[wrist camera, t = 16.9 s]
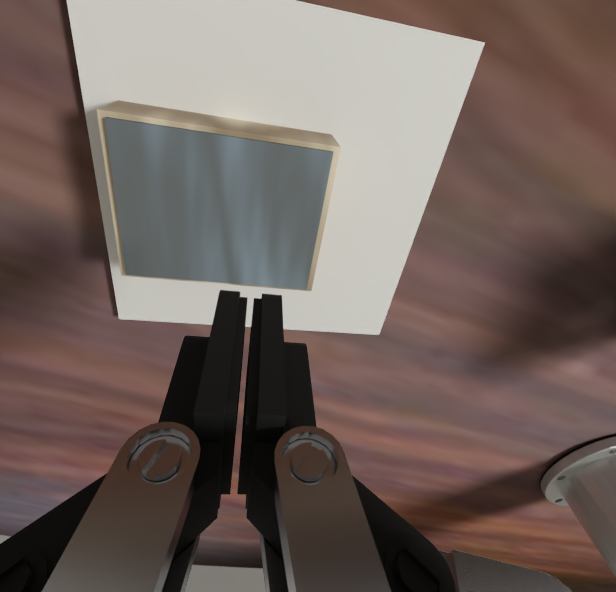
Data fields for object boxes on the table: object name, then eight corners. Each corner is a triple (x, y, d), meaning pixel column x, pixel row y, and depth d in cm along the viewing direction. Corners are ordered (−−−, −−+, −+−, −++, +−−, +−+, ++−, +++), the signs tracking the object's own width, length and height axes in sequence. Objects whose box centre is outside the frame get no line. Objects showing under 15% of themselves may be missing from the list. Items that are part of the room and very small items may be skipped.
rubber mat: (478, 42, 15) (484, 42, 15) (377, 329, 24) (379, 334, 24) (64, -50, 12) (57, -54, 12) (121, 313, 21) (118, 319, 21)
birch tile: (341, 148, 14) (94, 110, 13) (311, 293, 18) (119, 278, 17) (331, 134, 16) (118, 100, 15) (306, 267, 20) (135, 251, 19)
